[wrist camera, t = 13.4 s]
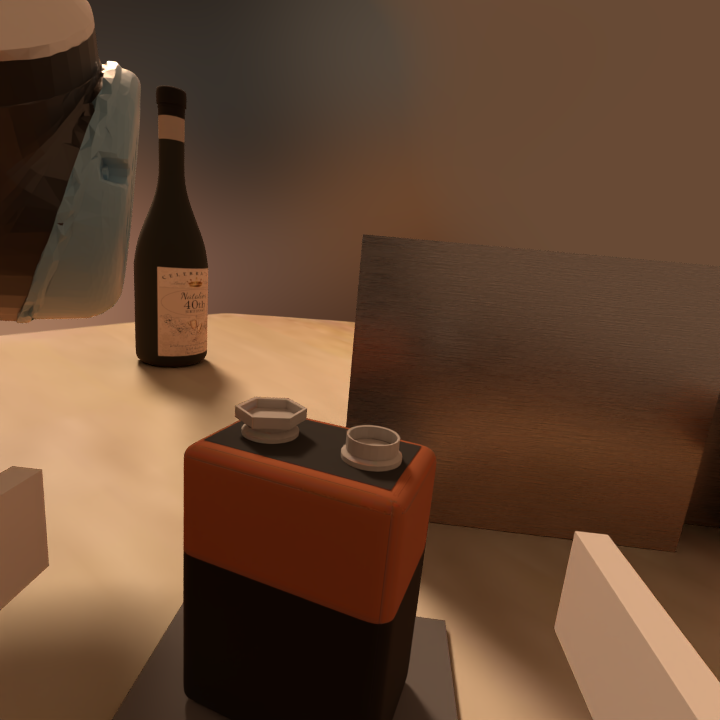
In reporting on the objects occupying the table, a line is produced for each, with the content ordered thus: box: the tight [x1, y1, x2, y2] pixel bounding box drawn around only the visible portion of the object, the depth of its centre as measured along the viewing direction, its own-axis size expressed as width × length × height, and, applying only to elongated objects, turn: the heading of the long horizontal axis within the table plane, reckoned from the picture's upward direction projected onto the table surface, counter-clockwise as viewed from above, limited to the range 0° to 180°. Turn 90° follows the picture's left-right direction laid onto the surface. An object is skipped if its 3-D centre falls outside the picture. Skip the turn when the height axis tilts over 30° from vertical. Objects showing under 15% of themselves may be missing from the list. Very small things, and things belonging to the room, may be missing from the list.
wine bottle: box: [134, 86, 208, 367], centre depth 54 cm, size 8×8×30 cm
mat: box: [112, 604, 458, 720], centre depth 17 cm, size 11×8×1 cm
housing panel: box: [346, 235, 720, 552], centre depth 28 cm, size 26×4×16 cm, turn 86°
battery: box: [183, 397, 436, 720], centre depth 15 cm, size 4×7×10 cm, turn 69°
